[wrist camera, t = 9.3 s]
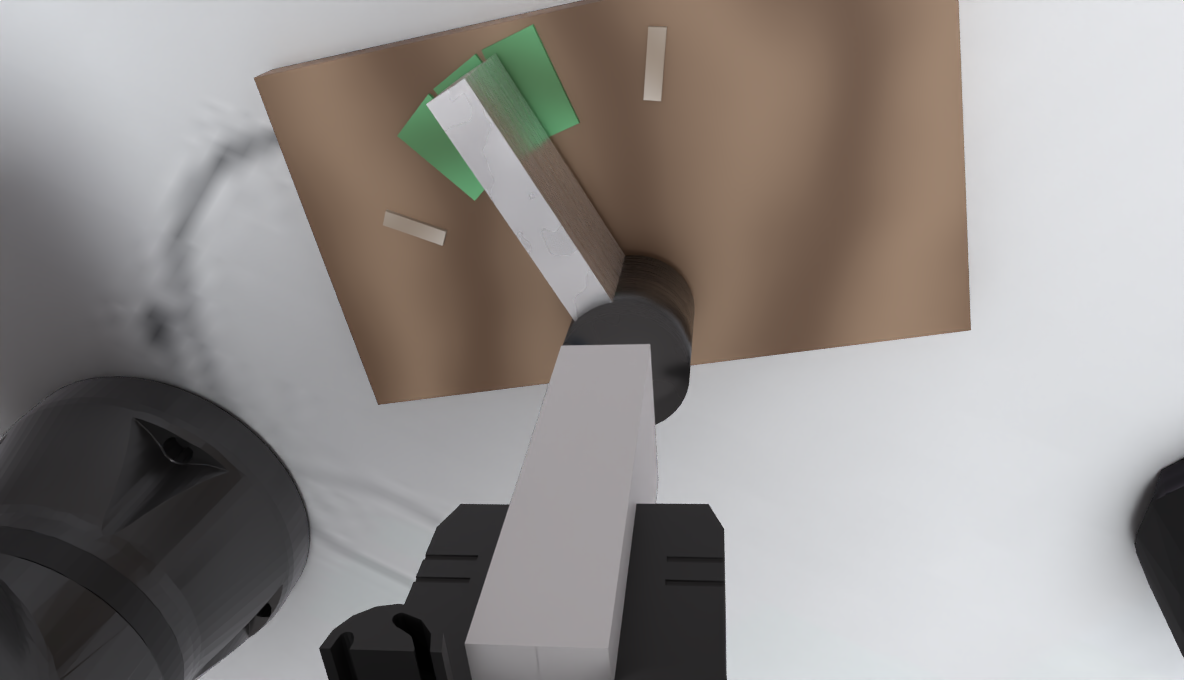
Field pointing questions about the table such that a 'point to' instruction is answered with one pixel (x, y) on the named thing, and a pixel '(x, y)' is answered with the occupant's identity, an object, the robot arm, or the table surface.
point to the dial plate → (645, 179)
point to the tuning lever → (568, 231)
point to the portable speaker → (1166, 548)
